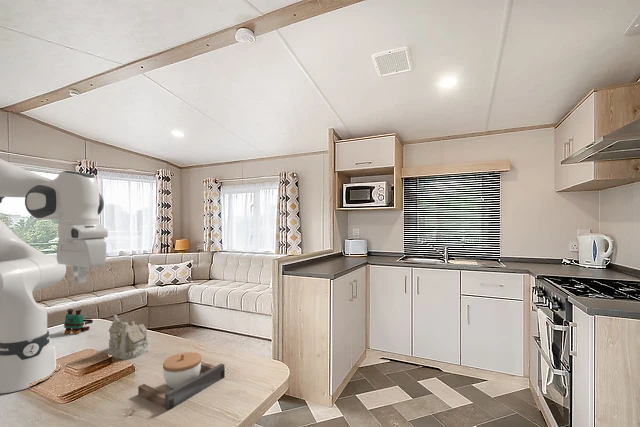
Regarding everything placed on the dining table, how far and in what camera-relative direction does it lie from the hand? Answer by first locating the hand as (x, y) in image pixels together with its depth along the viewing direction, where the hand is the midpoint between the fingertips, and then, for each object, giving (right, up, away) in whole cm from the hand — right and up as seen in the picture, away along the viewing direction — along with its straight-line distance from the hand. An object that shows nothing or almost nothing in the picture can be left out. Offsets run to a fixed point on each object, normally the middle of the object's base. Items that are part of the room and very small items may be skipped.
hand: (80, 282), depth 82 cm
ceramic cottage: (-9, -35, +37) cm, 52 cm away
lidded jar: (+23, -34, +11) cm, 42 cm away
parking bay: (+22, -34, +11) cm, 42 cm away
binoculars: (-48, -36, +59) cm, 84 cm away
